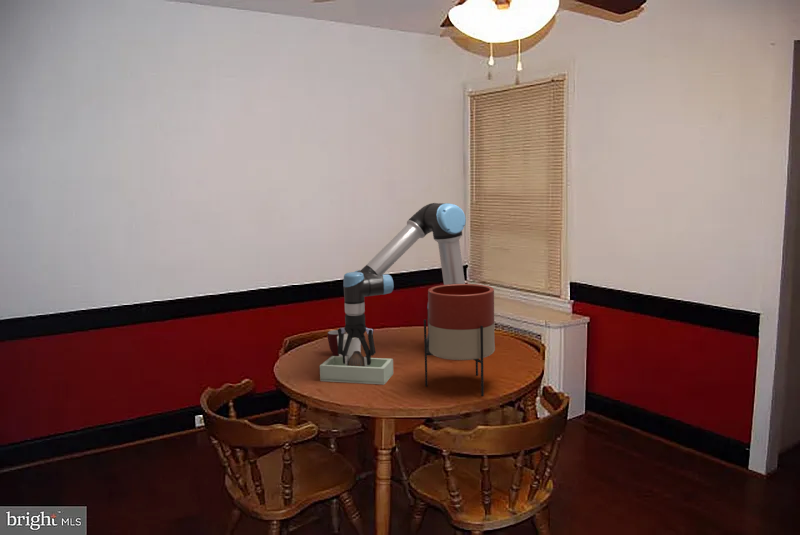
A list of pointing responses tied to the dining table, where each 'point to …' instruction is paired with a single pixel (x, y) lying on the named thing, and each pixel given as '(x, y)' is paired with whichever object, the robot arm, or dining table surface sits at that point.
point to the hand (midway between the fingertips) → (357, 372)
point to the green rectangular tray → (356, 371)
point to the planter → (460, 324)
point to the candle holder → (351, 345)
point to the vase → (356, 359)
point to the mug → (333, 341)
